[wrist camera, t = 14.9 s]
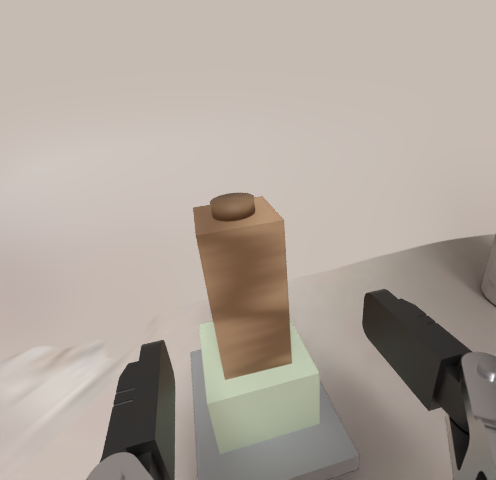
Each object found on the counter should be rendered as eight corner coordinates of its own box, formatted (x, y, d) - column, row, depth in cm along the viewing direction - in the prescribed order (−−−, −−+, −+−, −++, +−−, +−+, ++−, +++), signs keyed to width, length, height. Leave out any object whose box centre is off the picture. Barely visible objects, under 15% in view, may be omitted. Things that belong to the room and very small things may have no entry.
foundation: (292, 338, 29) (289, 285, 27) (358, 469, 19) (364, 402, 16) (193, 363, 28) (179, 309, 25) (204, 521, 17) (181, 457, 14)
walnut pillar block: (273, 319, 23) (261, 183, 18) (292, 363, 19) (283, 204, 14) (217, 332, 22) (190, 195, 18) (225, 380, 18) (192, 220, 14)
